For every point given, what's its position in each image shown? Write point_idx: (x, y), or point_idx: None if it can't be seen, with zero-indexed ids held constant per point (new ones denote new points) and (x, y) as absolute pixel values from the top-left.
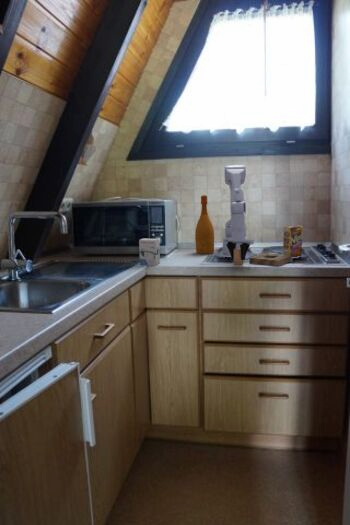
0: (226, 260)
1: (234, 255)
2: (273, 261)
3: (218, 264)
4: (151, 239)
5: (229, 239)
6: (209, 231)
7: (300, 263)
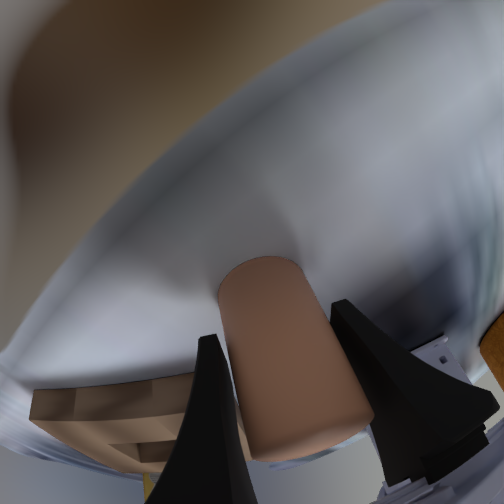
0: (409, 314)
1: (315, 340)
2: (52, 413)
3: (420, 180)
4: None
5: (487, 499)
6: None
7: None
